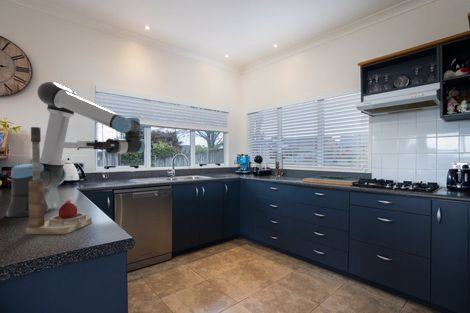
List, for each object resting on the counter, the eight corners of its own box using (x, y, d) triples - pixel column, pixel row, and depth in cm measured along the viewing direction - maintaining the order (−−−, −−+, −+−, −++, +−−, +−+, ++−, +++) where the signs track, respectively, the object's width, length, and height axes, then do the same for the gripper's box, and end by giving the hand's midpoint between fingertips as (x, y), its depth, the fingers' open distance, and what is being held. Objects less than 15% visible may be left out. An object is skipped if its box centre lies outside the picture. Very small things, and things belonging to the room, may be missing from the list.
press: (57, 222, 97) (56, 131, 97) (91, 222, 97) (90, 130, 97) (26, 233, 83) (25, 126, 83) (65, 233, 83) (64, 126, 83)
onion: (67, 223, 88) (67, 202, 88) (54, 223, 89) (54, 201, 89) (81, 219, 93) (80, 199, 93) (69, 219, 95) (68, 198, 95)
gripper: (131, 152, 117) (84, 152, 99) (102, 153, 130) (57, 153, 112) (130, 137, 117) (84, 134, 99) (102, 139, 130) (56, 137, 112)
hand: (69, 144), depth 105 cm, fingers open, 13 cm apart
